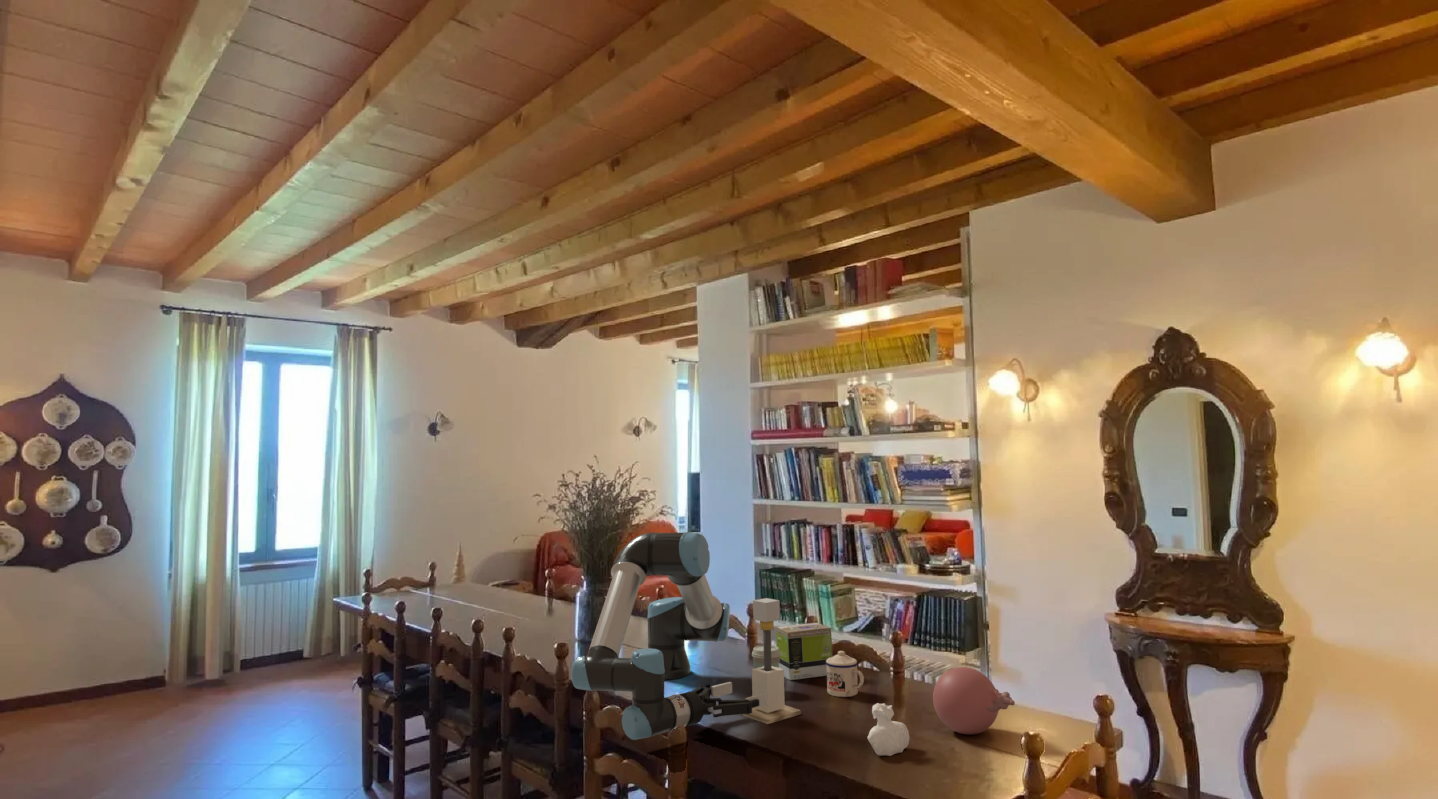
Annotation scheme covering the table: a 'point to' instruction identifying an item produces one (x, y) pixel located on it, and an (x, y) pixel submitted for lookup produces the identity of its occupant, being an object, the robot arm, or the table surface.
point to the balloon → (968, 700)
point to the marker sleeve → (769, 687)
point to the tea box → (804, 650)
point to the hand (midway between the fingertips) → (748, 692)
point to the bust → (887, 732)
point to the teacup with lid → (843, 675)
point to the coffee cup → (759, 656)
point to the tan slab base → (773, 714)
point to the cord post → (766, 624)
